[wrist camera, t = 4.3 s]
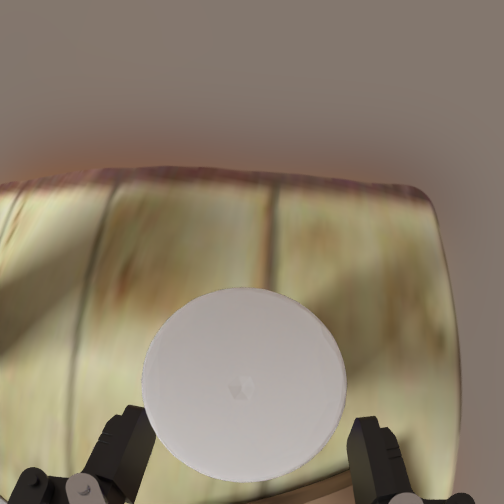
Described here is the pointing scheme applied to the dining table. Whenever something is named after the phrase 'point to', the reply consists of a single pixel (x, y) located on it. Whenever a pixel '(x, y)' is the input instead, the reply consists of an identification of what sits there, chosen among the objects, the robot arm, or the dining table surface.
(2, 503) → the kitchen cleaver
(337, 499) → the walnut stand
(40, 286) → the dining table surface
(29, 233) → the dining table surface
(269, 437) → the bottle
